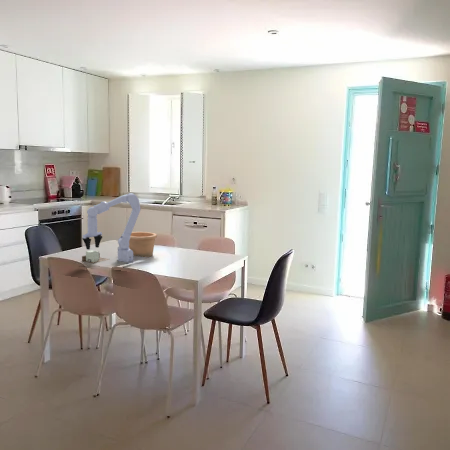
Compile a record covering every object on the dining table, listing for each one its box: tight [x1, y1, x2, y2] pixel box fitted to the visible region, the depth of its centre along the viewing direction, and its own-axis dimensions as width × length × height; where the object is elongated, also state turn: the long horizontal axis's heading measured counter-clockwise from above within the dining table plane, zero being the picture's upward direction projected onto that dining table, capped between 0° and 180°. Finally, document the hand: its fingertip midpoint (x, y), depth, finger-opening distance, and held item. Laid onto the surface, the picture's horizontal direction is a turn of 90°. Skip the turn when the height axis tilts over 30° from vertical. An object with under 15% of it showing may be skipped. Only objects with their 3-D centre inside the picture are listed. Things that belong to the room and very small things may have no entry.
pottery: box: [129, 231, 158, 258], centre depth 309 cm, size 22×22×14 cm
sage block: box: [85, 249, 100, 263], centre depth 281 cm, size 6×5×6 cm
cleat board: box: [81, 252, 110, 264], centre depth 284 cm, size 10×14×4 cm
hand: (92, 248), depth 281 cm, fingers open, 7 cm apart
